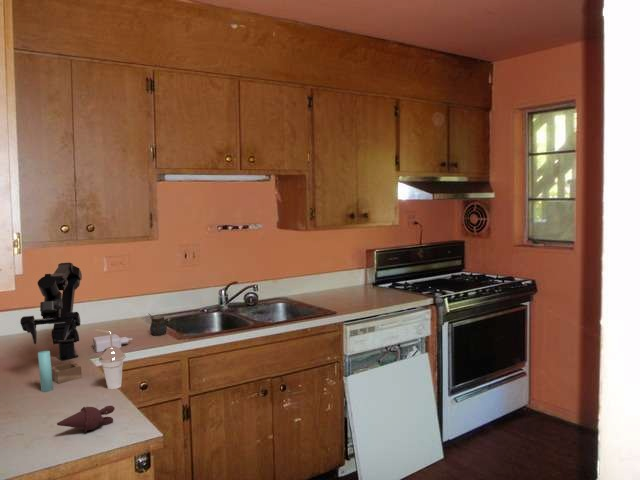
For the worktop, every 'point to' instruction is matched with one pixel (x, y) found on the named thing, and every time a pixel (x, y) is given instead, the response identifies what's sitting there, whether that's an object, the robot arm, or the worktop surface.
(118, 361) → the cup with straw
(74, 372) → the socket block
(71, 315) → the robot arm
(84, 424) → the icecream
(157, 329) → the mate gourd
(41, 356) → the peg
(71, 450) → the worktop surface
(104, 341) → the lavender nozzle bottle
